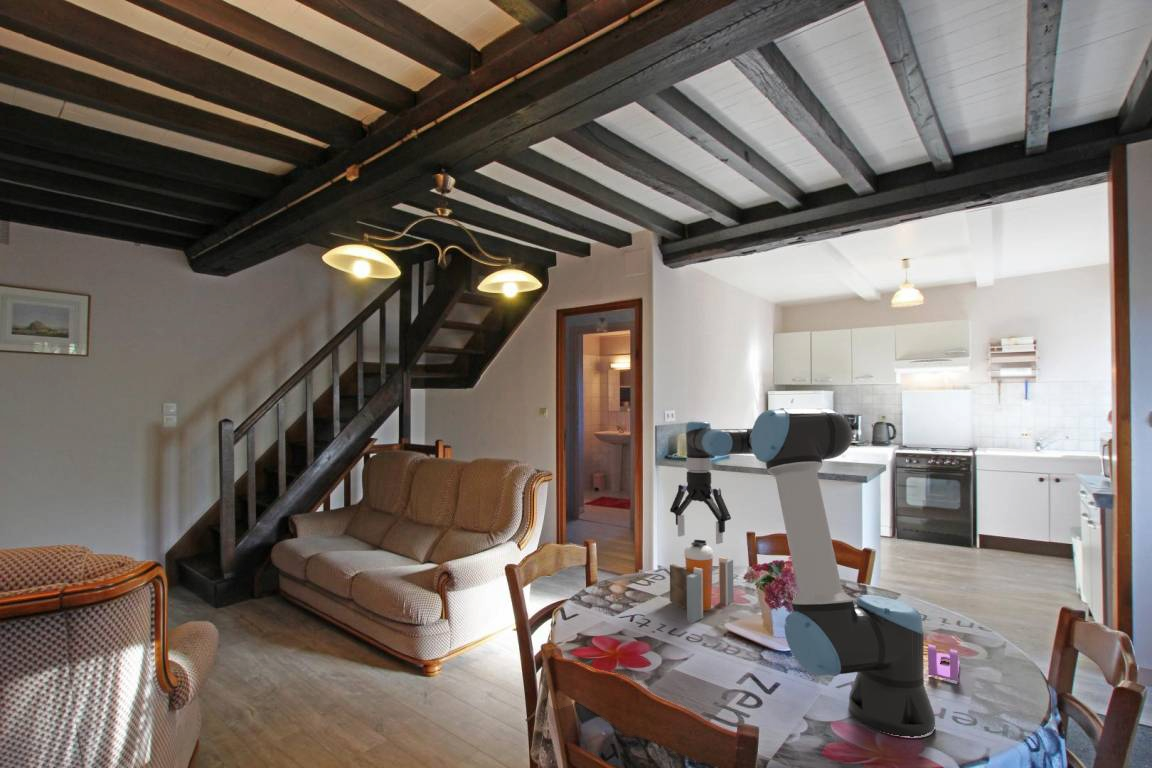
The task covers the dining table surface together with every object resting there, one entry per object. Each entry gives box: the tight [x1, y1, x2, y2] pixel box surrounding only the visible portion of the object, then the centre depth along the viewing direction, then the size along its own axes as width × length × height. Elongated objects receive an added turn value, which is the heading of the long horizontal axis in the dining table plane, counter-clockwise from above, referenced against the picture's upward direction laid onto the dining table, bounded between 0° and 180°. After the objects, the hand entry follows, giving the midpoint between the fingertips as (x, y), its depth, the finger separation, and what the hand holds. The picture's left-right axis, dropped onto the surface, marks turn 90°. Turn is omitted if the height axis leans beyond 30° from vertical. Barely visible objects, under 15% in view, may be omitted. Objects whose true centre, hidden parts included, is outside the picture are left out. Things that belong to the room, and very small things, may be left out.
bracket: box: [927, 644, 961, 682], centre depth 130 cm, size 13×6×7 cm, turn 143°
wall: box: [686, 556, 734, 624], centre depth 166 cm, size 24×3×14 cm, turn 136°
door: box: [669, 563, 694, 610], centre depth 167 cm, size 13×2×12 cm, turn 32°
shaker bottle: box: [683, 539, 714, 612], centre depth 169 cm, size 9×9×20 cm
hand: (699, 539), depth 169 cm, fingers open, 13 cm apart
